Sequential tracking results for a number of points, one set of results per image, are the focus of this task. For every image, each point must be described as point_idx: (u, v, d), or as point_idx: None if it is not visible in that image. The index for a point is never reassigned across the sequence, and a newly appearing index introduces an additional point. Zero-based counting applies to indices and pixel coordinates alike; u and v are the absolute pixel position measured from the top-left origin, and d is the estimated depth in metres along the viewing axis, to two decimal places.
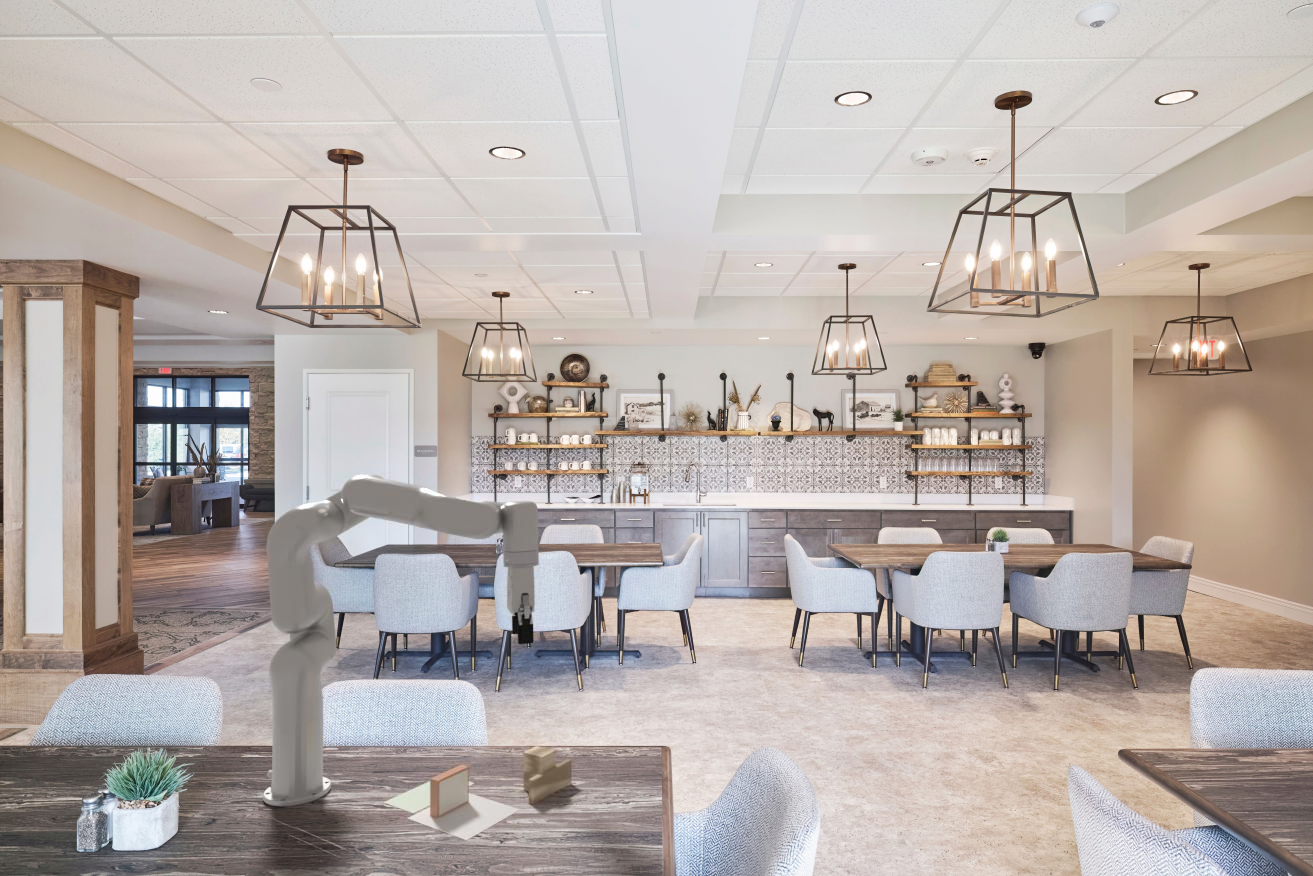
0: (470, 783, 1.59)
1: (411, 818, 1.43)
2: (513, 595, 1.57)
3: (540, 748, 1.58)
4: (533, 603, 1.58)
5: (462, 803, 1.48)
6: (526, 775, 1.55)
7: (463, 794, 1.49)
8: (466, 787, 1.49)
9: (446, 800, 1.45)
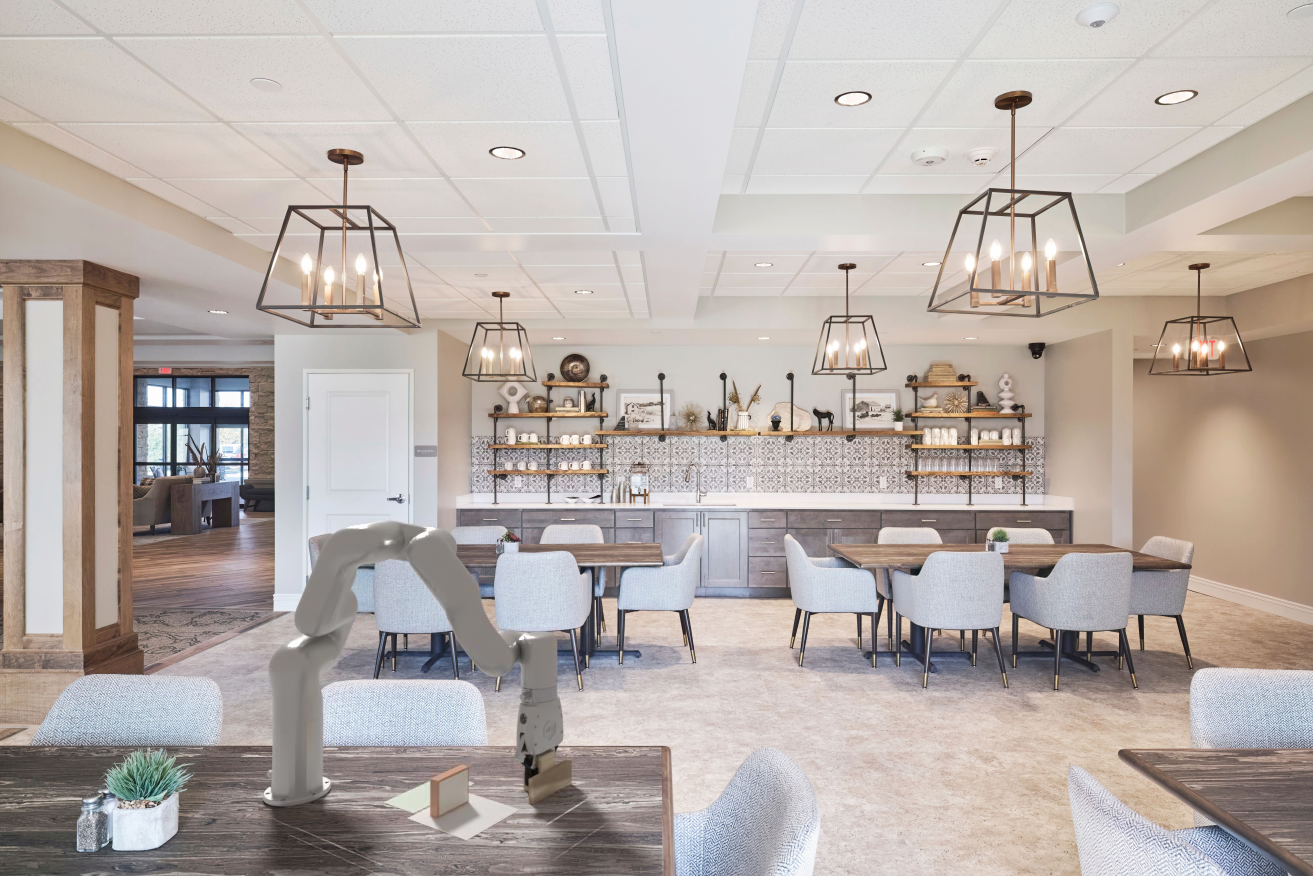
0: (470, 783, 1.59)
1: (411, 818, 1.43)
2: None
3: None
4: None
5: (462, 803, 1.48)
6: None
7: (463, 794, 1.49)
8: (466, 787, 1.49)
9: (446, 800, 1.45)
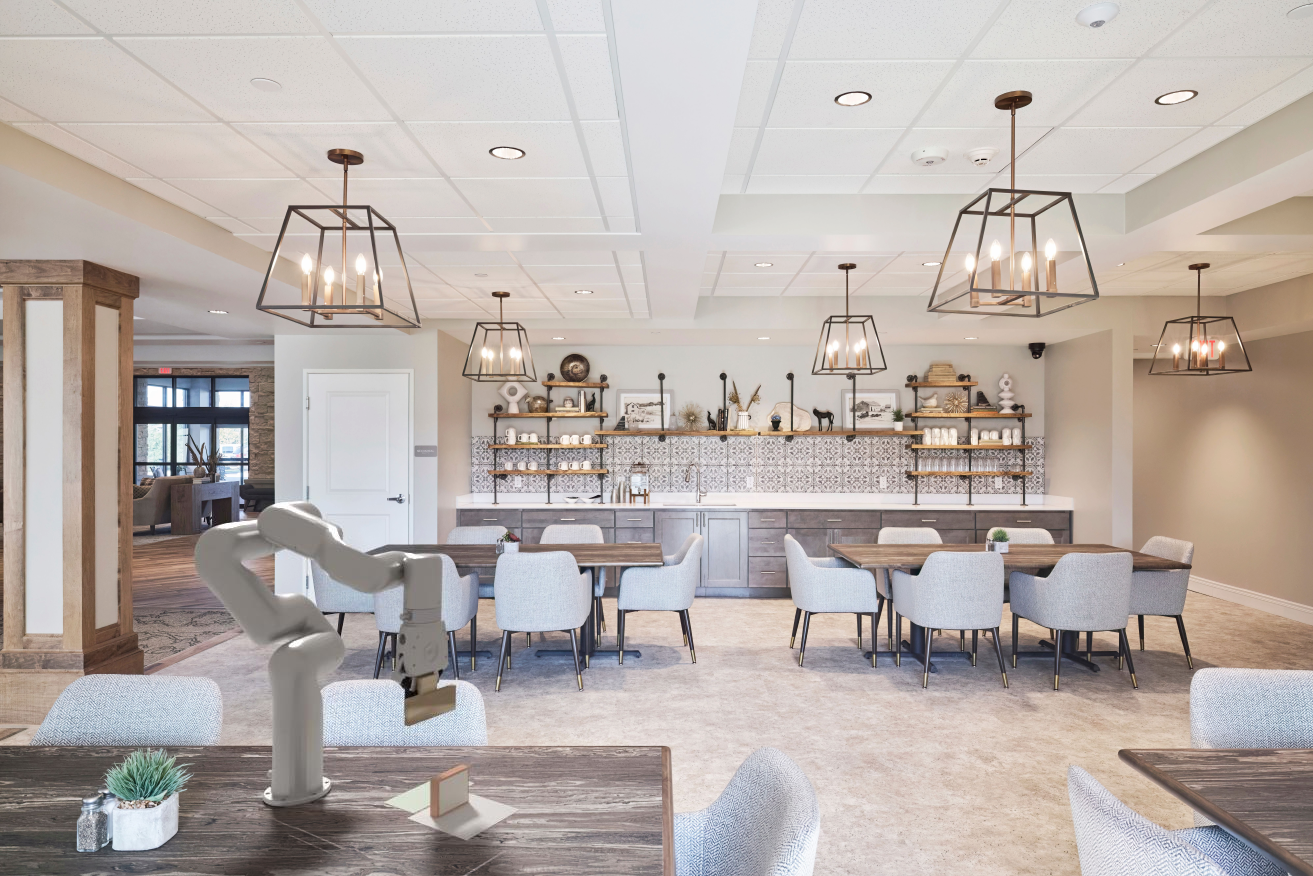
0: (470, 783, 1.59)
1: (411, 818, 1.43)
2: (447, 646, 1.56)
3: None
4: None
5: (462, 803, 1.48)
6: None
7: (463, 794, 1.49)
8: (466, 787, 1.49)
9: (446, 800, 1.45)
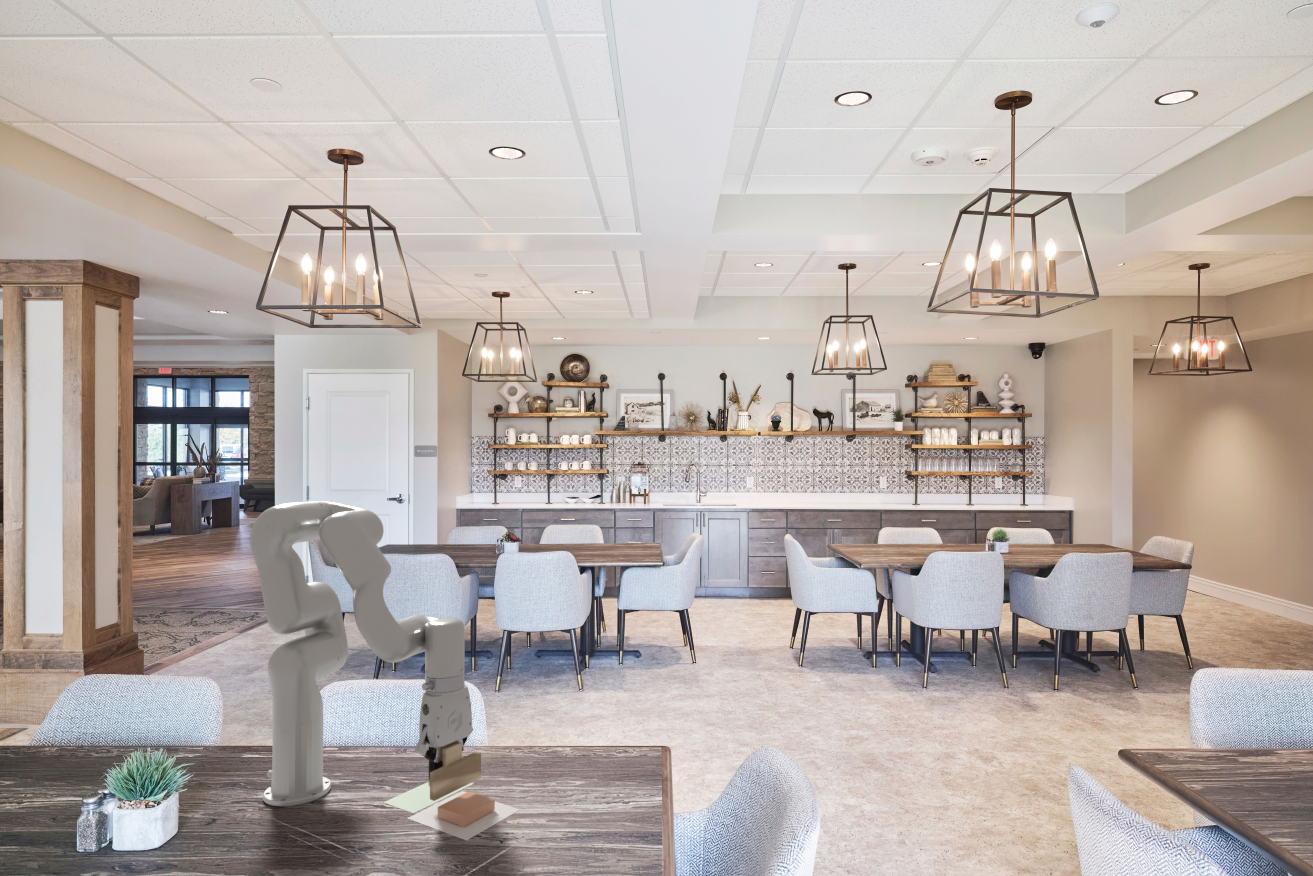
0: (470, 783, 1.59)
1: (411, 818, 1.43)
2: (471, 713, 1.51)
3: None
4: None
5: None
6: None
7: None
8: None
9: None
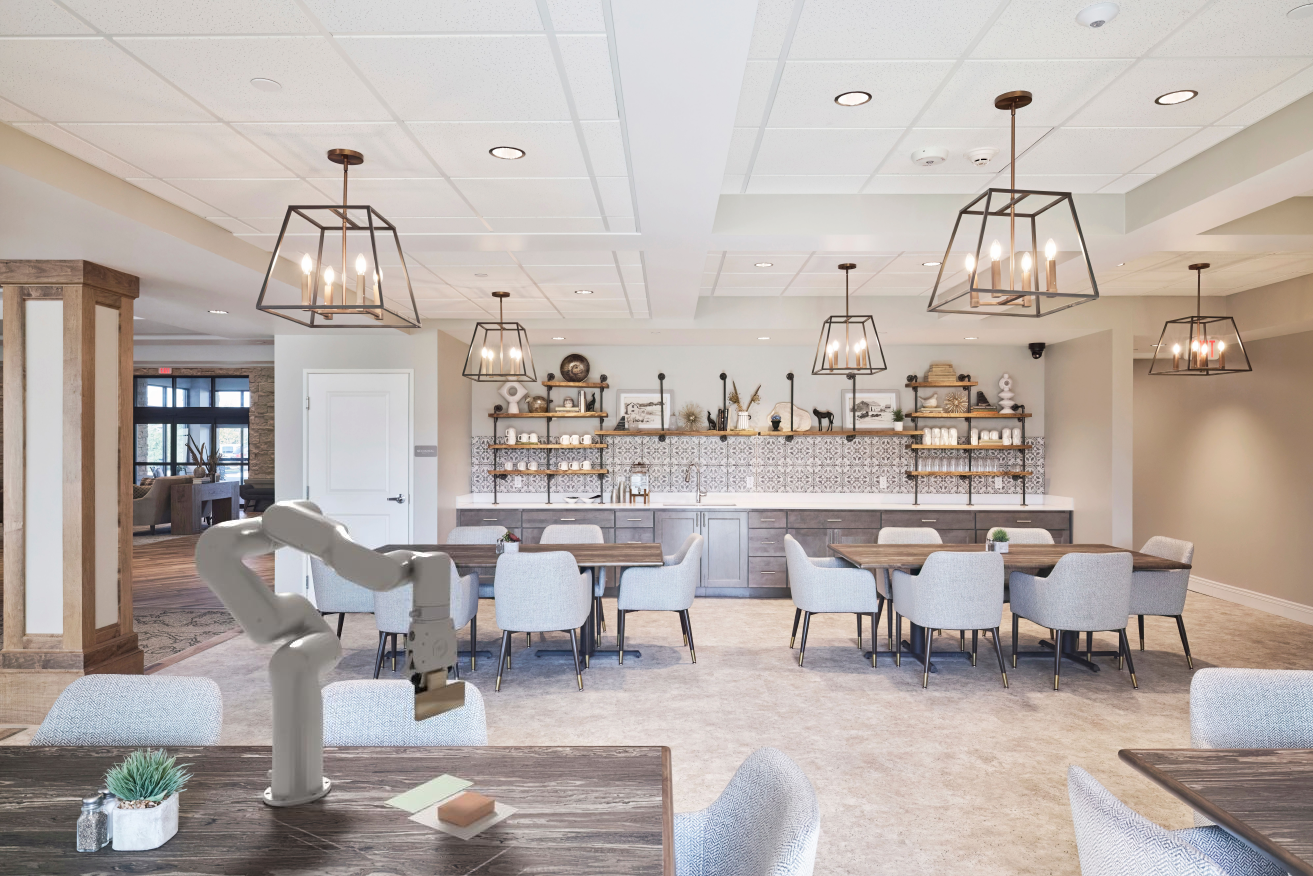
0: (470, 783, 1.59)
1: (411, 818, 1.43)
2: (456, 643, 1.58)
3: None
4: None
5: None
6: None
7: None
8: None
9: None
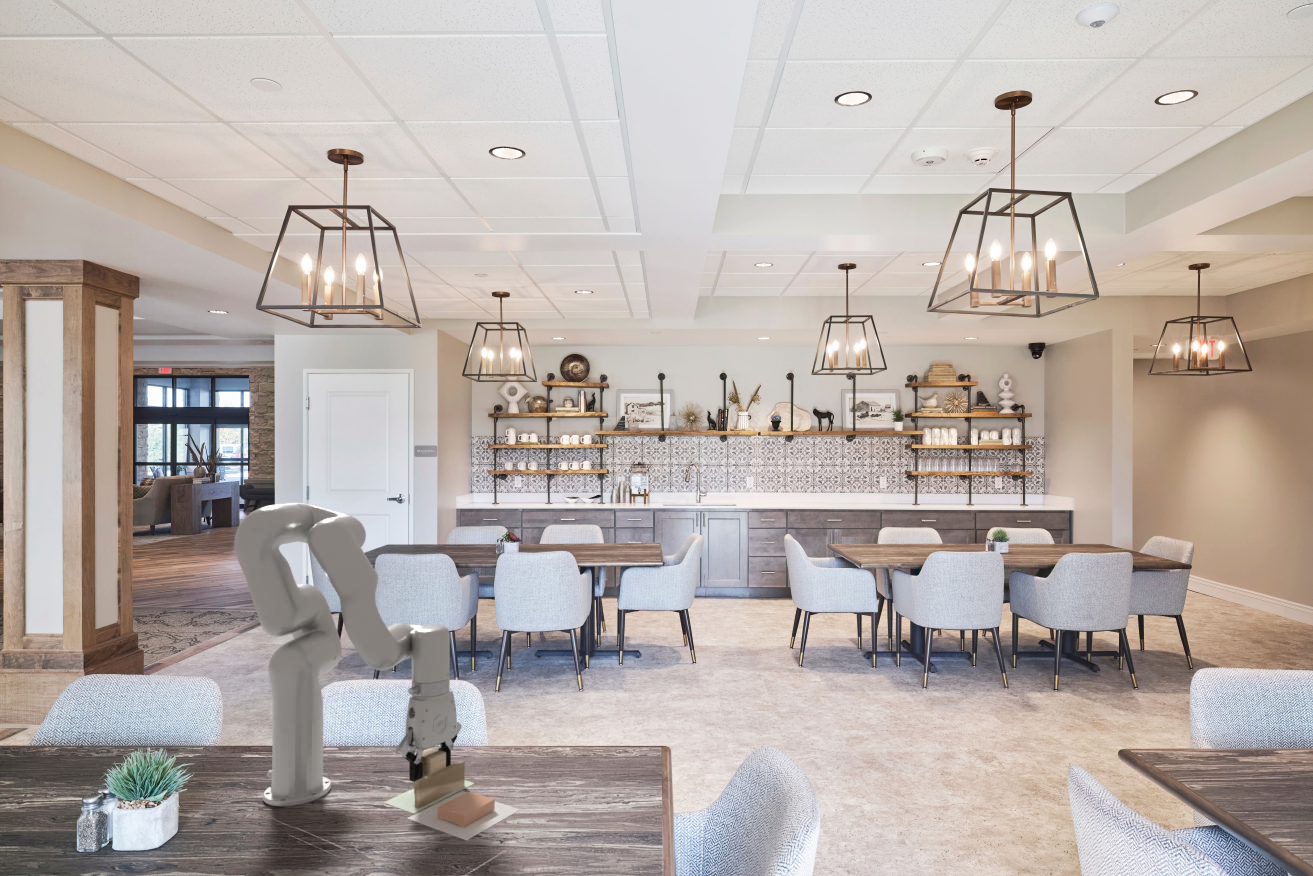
0: (470, 783, 1.59)
1: (411, 818, 1.43)
2: None
3: (432, 750, 1.56)
4: None
5: None
6: None
7: None
8: None
9: None
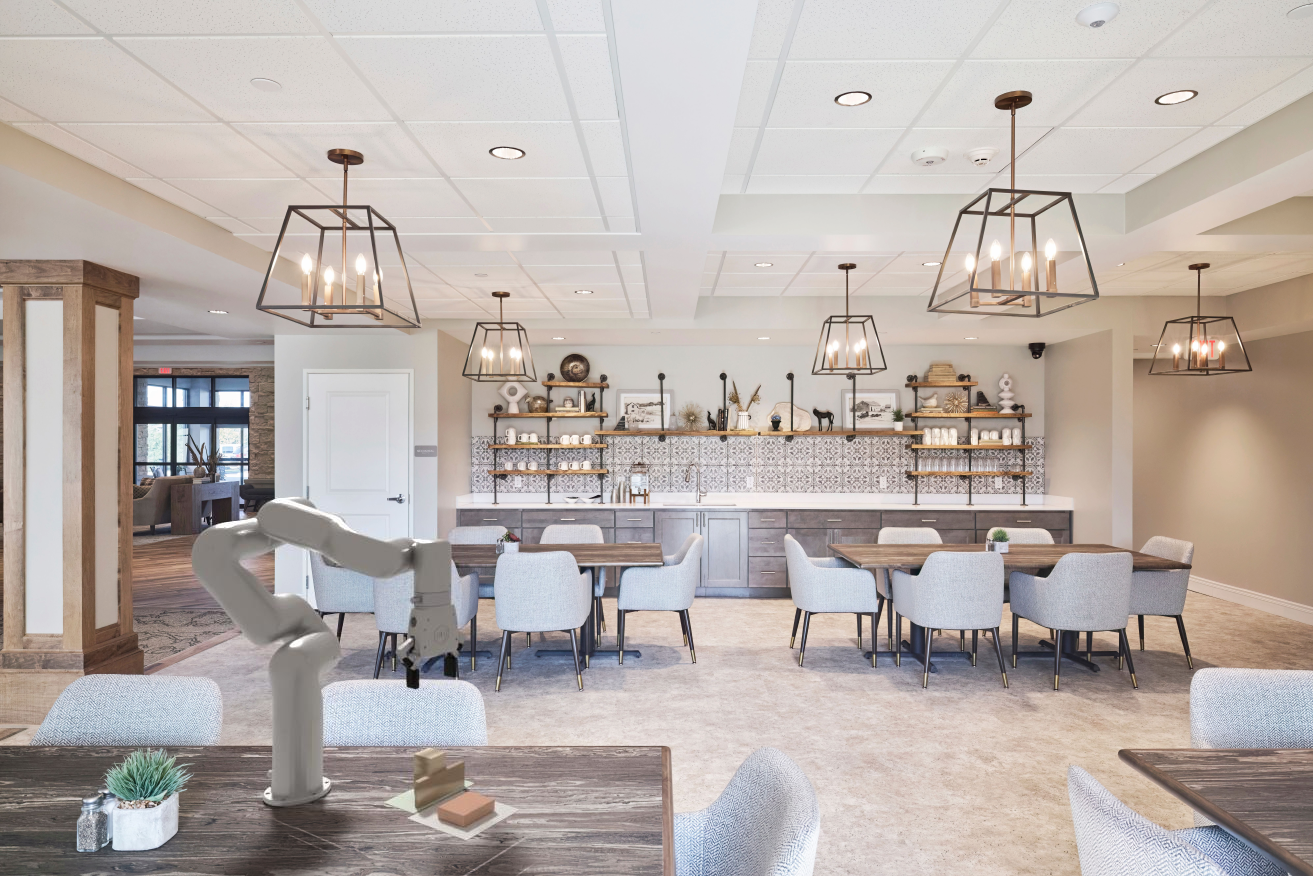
0: (470, 783, 1.59)
1: (411, 818, 1.43)
2: (457, 629, 1.59)
3: (432, 750, 1.56)
4: None
5: None
6: (416, 777, 1.54)
7: None
8: None
9: None
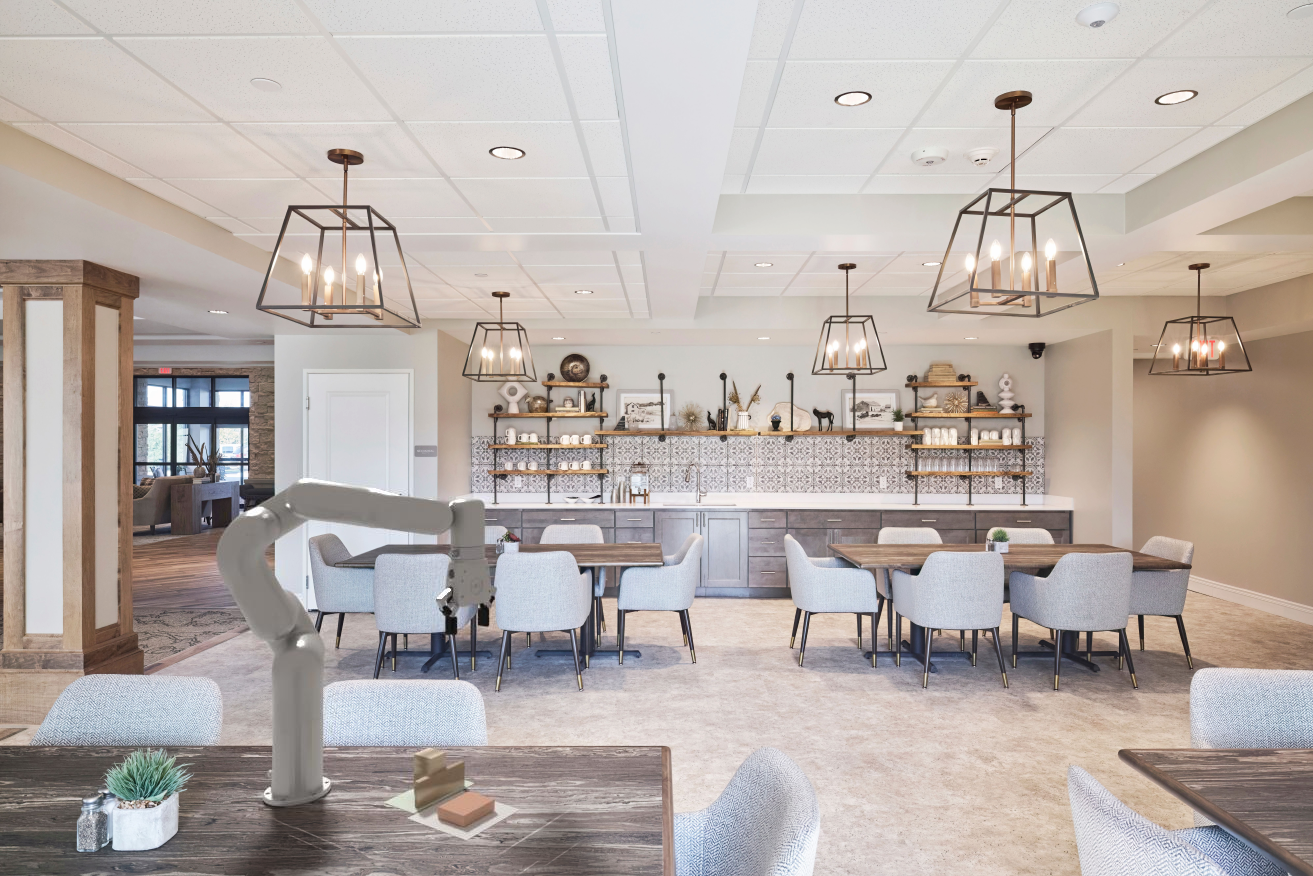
0: (470, 783, 1.59)
1: (411, 818, 1.43)
2: (490, 582, 1.72)
3: (432, 750, 1.56)
4: None
5: None
6: (416, 777, 1.54)
7: None
8: None
9: None
